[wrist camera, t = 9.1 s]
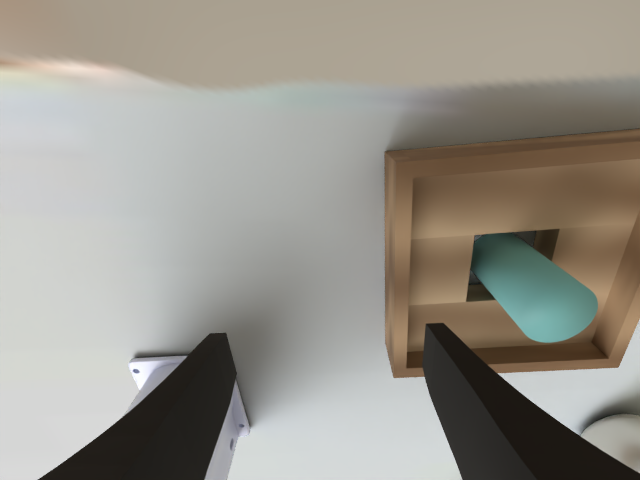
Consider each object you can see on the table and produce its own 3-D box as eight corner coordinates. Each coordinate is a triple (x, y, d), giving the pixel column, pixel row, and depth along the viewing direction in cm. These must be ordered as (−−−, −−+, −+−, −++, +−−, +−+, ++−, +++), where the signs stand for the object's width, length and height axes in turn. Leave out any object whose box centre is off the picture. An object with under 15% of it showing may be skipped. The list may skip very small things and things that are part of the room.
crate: (580, 332, 22) (618, 367, 19) (385, 342, 23) (393, 377, 20) (649, 127, 16) (719, 134, 13) (384, 151, 17) (396, 162, 14)
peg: (516, 276, 20) (584, 341, 15) (464, 278, 21) (513, 343, 15) (528, 229, 19) (608, 282, 14) (471, 231, 19) (529, 285, 14)
